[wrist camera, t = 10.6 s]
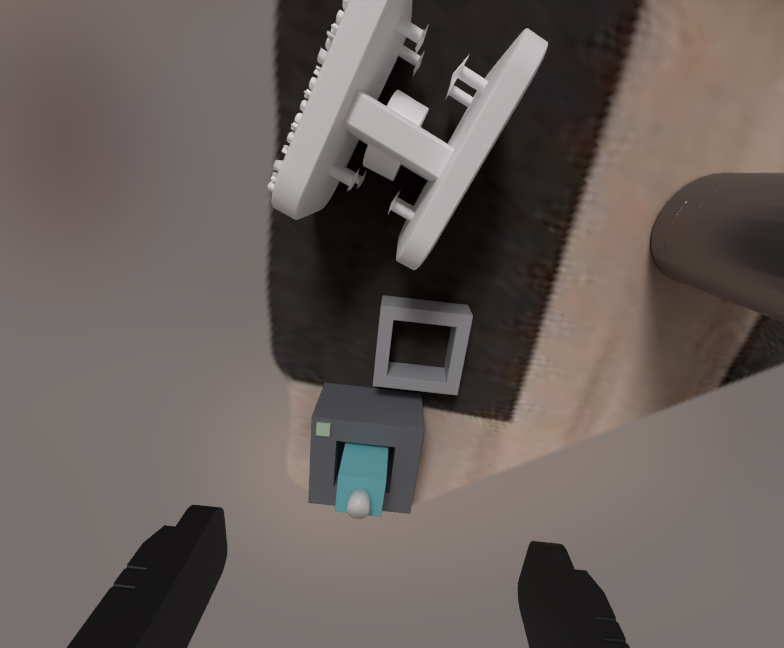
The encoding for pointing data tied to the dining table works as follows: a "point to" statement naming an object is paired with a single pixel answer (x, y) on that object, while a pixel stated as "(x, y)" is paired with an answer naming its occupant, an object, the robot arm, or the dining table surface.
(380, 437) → the port
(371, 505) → the plug
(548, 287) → the dining table surface
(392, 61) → the cable organizer
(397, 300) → the grey square hollow frame
